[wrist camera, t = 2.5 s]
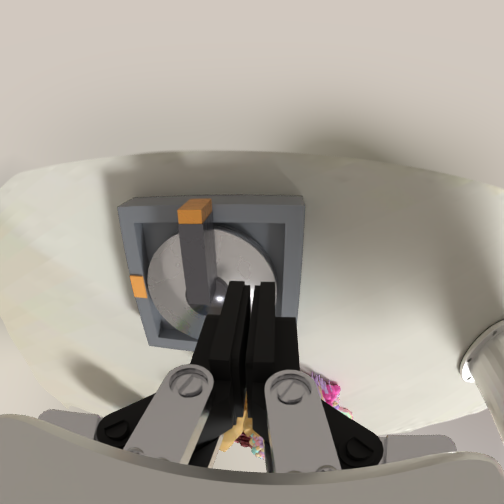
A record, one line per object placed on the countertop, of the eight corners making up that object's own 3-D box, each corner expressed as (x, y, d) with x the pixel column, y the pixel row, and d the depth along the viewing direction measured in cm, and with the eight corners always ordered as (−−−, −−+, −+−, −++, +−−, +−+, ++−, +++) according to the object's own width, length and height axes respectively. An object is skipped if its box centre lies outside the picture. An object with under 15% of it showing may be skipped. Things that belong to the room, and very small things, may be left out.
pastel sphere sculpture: (180, 417, 42) (167, 460, 33) (247, 340, 32) (237, 403, 24) (298, 455, 45) (298, 494, 37) (388, 397, 36) (401, 446, 27)
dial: (275, 334, 29) (273, 369, 24) (165, 327, 30) (149, 357, 25) (279, 193, 23) (279, 210, 18) (141, 195, 24) (114, 212, 19)
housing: (301, 195, 24) (305, 206, 21) (292, 337, 31) (293, 358, 28) (133, 197, 26) (116, 207, 23) (158, 328, 32) (148, 346, 29)
